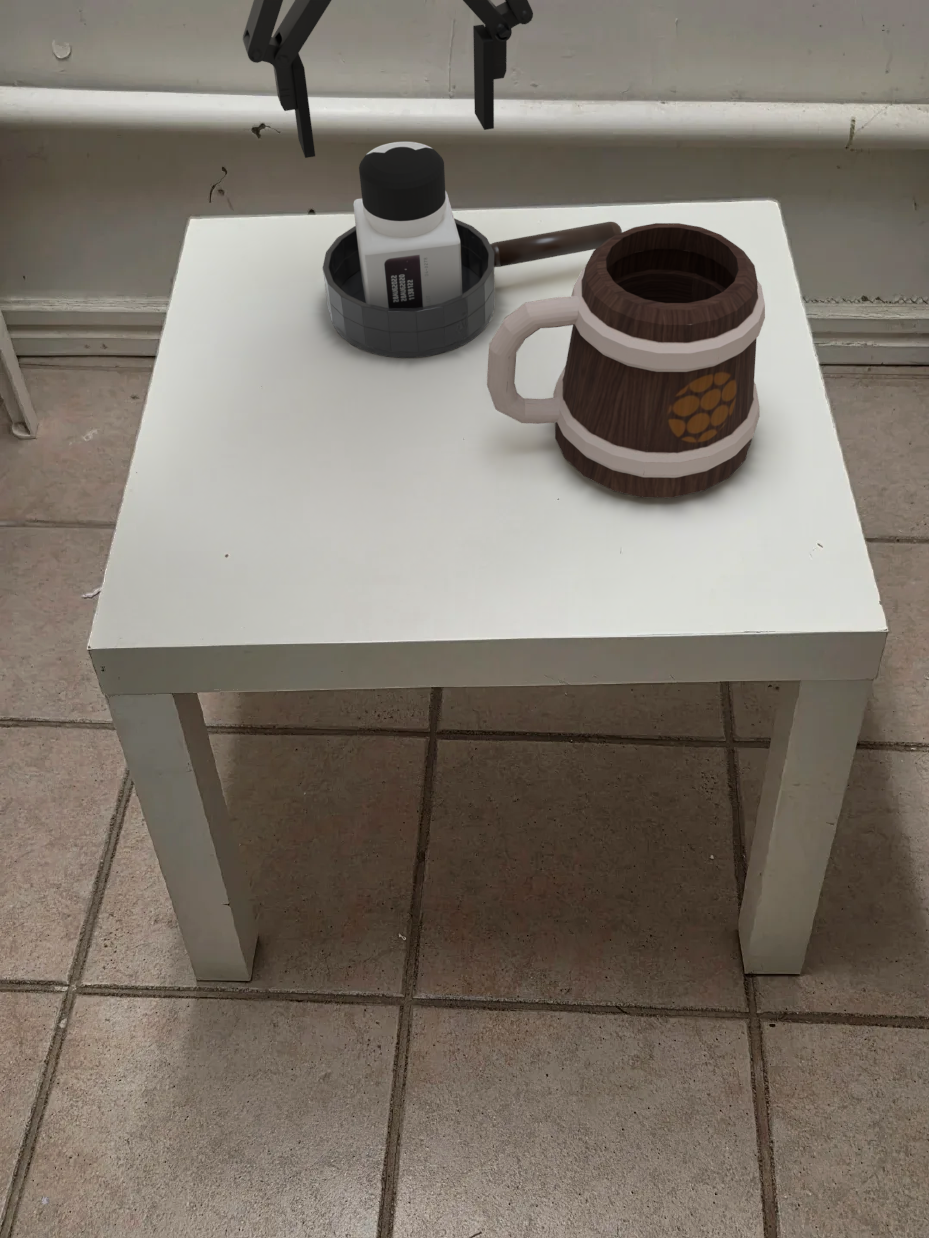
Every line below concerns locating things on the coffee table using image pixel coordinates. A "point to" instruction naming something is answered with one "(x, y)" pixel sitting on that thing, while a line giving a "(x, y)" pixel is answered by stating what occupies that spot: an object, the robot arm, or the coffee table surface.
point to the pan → (410, 326)
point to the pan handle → (553, 243)
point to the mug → (647, 362)
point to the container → (406, 228)
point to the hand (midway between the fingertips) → (396, 135)
